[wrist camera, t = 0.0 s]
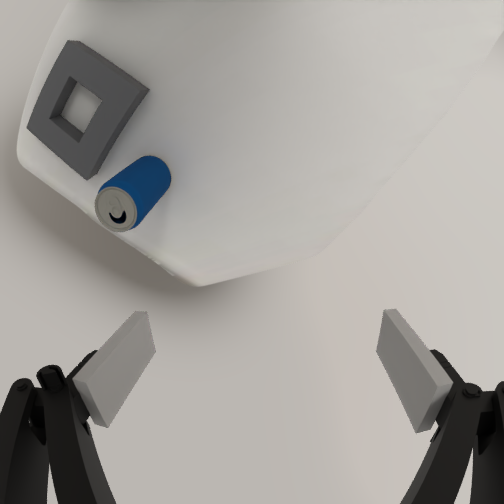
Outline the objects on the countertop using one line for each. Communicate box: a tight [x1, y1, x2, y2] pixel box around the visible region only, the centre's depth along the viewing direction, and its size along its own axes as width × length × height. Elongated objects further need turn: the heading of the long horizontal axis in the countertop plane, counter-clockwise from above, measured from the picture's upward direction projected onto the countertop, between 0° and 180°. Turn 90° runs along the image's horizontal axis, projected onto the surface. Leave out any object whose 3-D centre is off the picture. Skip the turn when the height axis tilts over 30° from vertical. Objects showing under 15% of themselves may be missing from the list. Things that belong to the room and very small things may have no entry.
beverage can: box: [95, 156, 171, 232], centre depth 34 cm, size 6×6×12 cm
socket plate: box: [27, 40, 149, 180], centre depth 31 cm, size 16×16×3 cm
